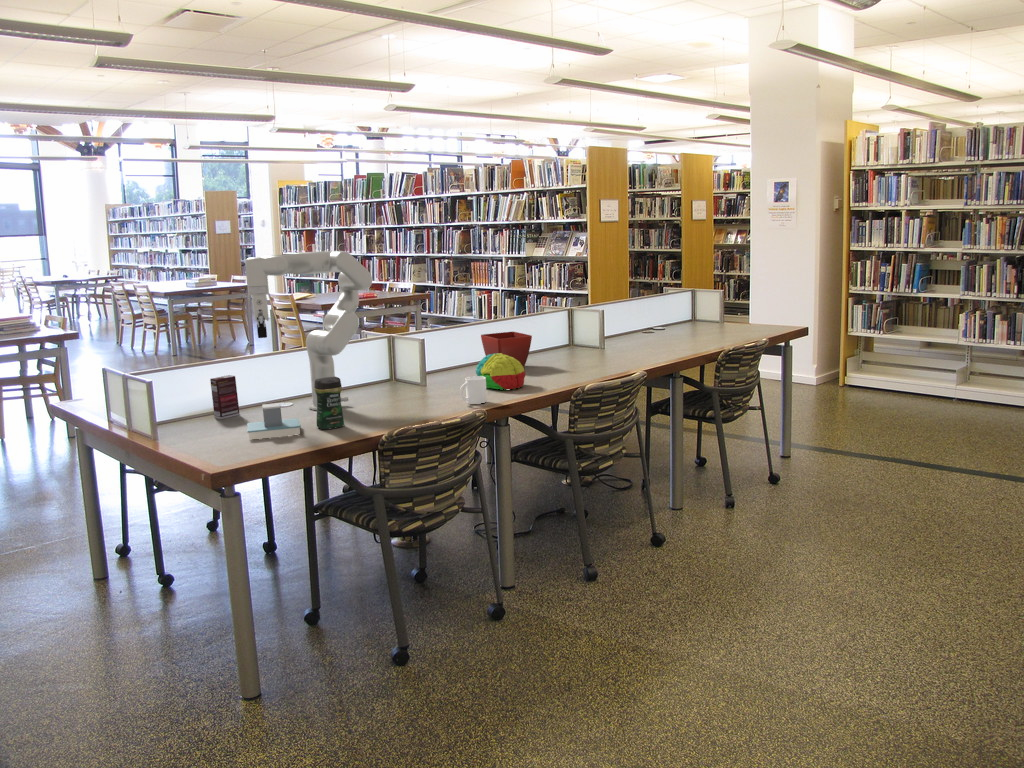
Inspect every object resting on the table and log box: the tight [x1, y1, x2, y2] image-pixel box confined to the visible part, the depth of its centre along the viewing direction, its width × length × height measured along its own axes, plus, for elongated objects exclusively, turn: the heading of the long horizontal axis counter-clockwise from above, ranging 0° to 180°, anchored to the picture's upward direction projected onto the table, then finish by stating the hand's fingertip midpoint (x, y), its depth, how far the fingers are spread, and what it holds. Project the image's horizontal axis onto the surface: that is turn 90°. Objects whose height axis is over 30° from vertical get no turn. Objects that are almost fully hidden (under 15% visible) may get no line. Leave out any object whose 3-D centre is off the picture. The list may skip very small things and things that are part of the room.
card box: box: [261, 402, 283, 427], centre depth 299 cm, size 6×6×7 cm
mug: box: [459, 375, 488, 405], centre depth 338 cm, size 12×8×10 cm
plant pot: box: [480, 331, 533, 368], centre depth 414 cm, size 19×19×17 cm
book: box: [246, 417, 302, 441], centre depth 300 cm, size 18×13×4 cm
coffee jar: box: [314, 376, 345, 430], centre depth 306 cm, size 10×8×19 cm
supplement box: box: [209, 374, 240, 420], centre depth 328 cm, size 9×5×16 cm, turn 141°
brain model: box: [475, 353, 526, 391], centre depth 370 cm, size 24×19×15 cm
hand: (262, 336), depth 317 cm, fingers open, 9 cm apart
